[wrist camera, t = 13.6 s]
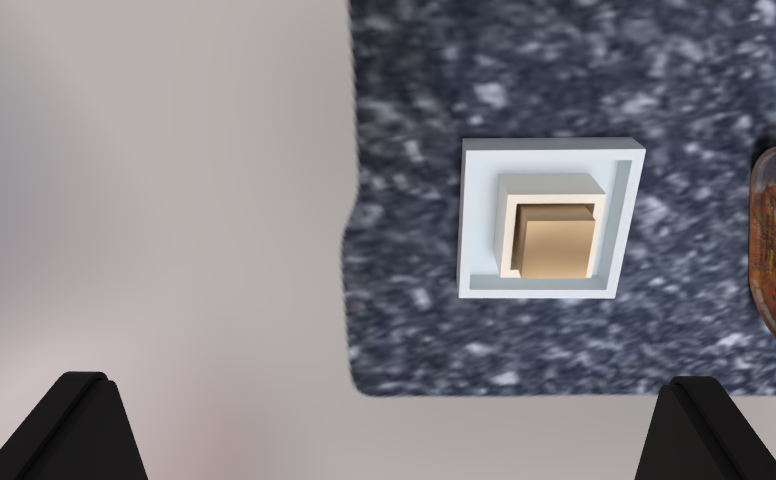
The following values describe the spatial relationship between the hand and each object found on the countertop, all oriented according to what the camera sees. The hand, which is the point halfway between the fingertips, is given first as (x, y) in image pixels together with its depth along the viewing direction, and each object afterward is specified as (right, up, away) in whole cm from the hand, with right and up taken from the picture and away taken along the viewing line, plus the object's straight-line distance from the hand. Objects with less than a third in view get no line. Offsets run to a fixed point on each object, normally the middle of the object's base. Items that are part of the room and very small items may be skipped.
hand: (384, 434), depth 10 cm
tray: (+11, +5, +29) cm, 31 cm away
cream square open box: (+11, +5, +28) cm, 31 cm away
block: (+11, +5, +28) cm, 30 cm away
